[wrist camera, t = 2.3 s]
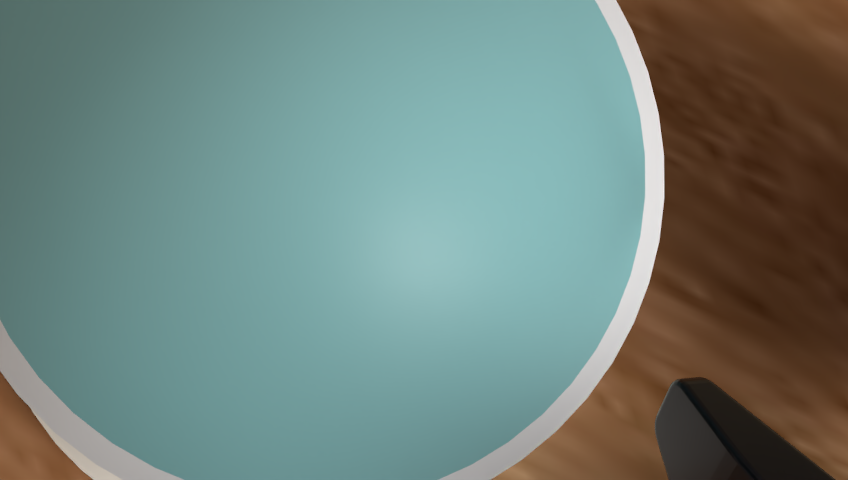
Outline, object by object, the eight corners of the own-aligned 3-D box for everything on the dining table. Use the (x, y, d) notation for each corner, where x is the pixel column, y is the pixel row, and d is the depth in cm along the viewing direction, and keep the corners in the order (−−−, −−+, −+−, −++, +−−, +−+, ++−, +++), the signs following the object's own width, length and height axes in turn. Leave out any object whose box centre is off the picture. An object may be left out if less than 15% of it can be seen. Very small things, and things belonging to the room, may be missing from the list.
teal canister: (439, 368, 19) (722, 443, 7) (169, 419, 18) (-17, 613, 6) (397, 113, 19) (598, -198, 8) (130, 145, 18) (-114, -178, 6)
